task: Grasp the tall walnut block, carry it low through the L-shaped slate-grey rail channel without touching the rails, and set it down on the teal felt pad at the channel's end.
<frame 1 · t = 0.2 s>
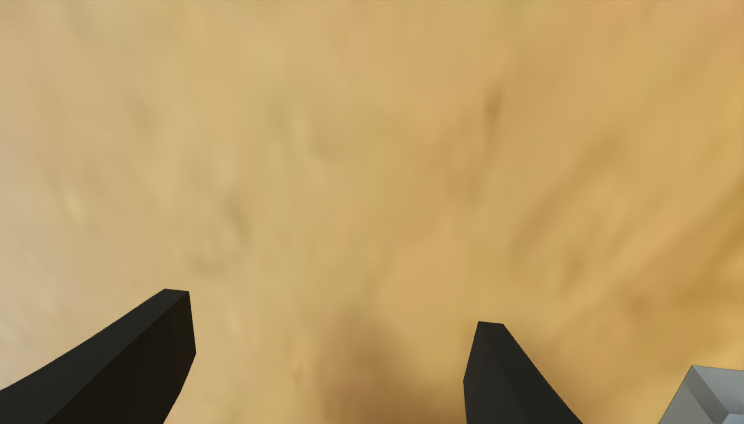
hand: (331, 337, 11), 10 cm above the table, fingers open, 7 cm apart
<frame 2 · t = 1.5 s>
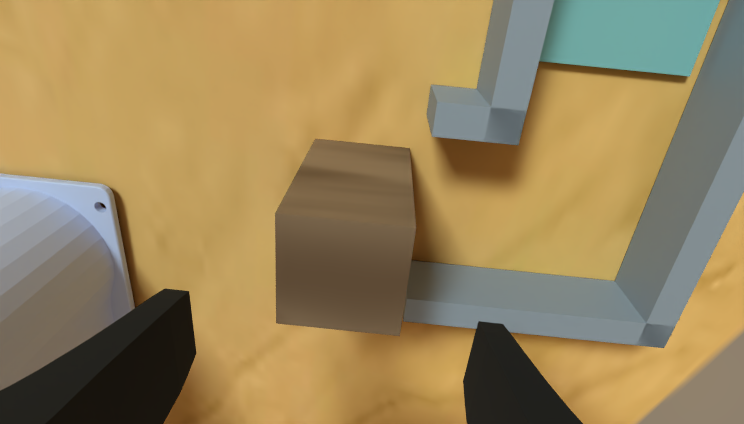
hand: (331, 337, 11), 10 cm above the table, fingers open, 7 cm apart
block: (358, 186, 20), on the table
course: (590, 118, 18), on the table
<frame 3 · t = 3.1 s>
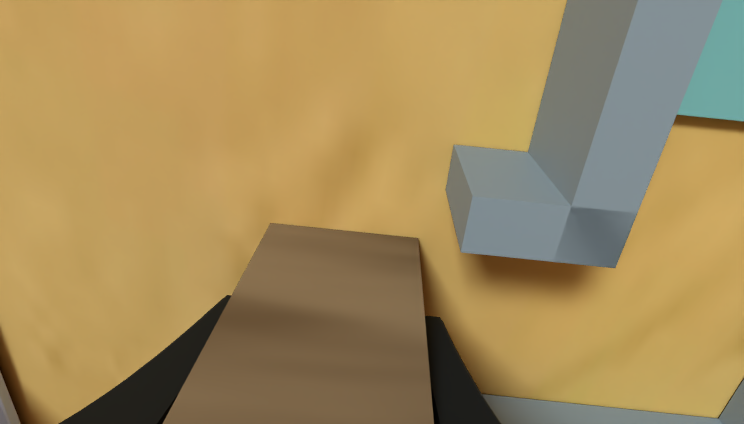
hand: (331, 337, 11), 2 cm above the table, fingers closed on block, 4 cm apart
block: (340, 290, 13), on the table, touching gripper
course: (709, 198, 11), on the table
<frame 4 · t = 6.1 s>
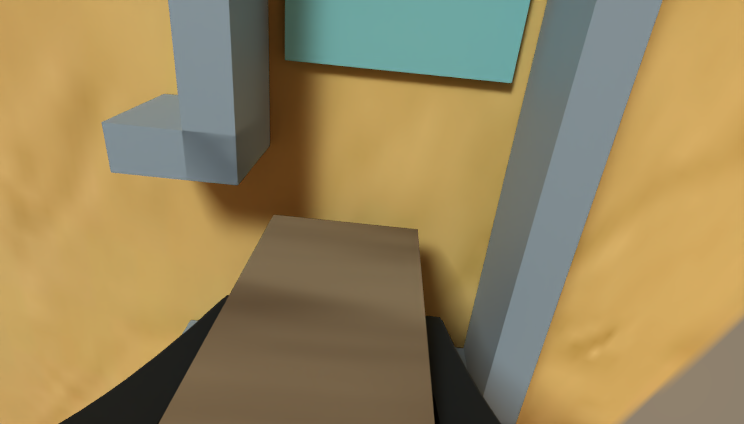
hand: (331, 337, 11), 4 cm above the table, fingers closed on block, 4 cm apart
block: (341, 281, 13), point 2 cm above the table, touching gripper
course: (390, 141, 13), on the table
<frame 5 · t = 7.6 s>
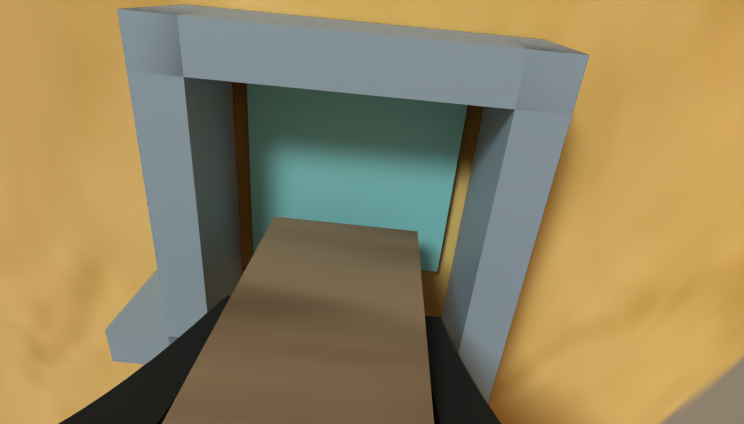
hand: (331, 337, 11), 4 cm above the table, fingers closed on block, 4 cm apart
pad: (352, 173, 13), resting in course
block: (341, 282, 13), point 2 cm above the table, touching gripper
course: (342, 305, 16), on the table
when the fingers open (3 cm above the table, at t = 9.0 s): block stays where it is, resting on pad.
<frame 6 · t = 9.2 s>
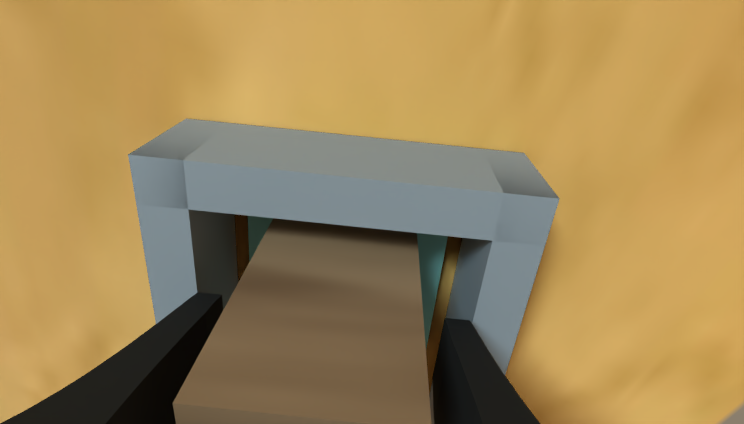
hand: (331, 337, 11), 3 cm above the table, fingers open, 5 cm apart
pad: (345, 262, 14), resting in course
block: (344, 269, 14), resting on pad
course: (337, 376, 17), on the table
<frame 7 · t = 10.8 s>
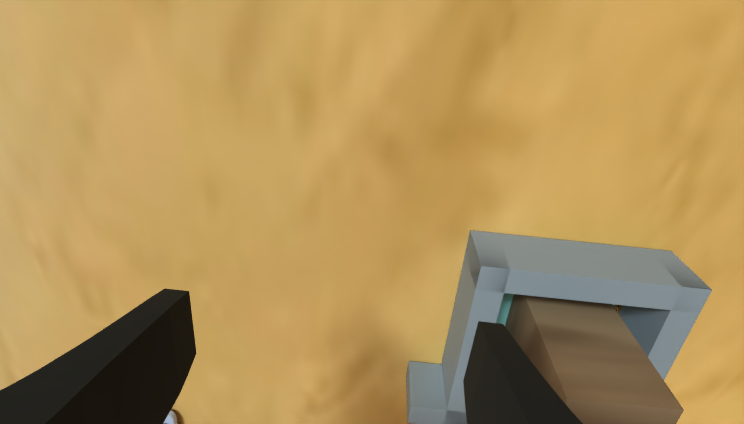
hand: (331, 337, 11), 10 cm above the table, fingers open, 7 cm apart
pad: (546, 311, 23), resting in course
block: (548, 316, 22), resting on pad
course: (523, 382, 25), on the table
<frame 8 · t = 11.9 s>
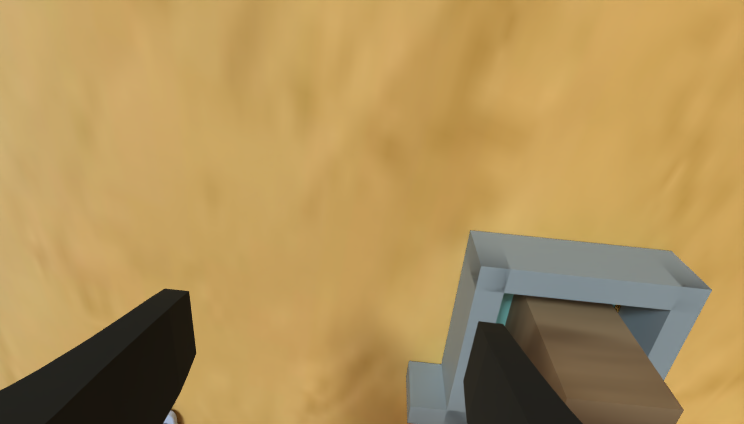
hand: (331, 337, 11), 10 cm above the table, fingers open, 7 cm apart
pad: (546, 311, 23), resting in course
block: (548, 316, 22), resting on pad
course: (523, 382, 25), on the table
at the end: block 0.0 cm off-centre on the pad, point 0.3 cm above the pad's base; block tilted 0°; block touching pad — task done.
